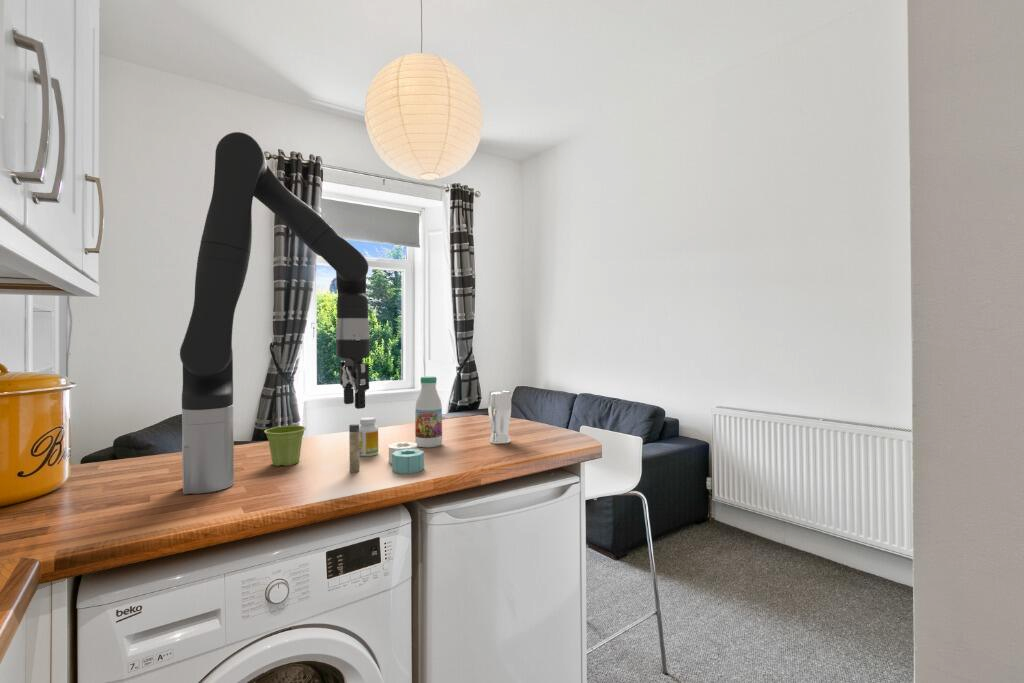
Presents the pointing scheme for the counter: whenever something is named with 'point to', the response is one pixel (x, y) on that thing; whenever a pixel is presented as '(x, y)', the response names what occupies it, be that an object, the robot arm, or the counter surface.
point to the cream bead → (400, 448)
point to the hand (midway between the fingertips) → (354, 406)
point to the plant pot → (285, 444)
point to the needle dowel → (354, 447)
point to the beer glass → (499, 416)
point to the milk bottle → (428, 415)
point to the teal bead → (408, 461)
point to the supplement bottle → (368, 437)
